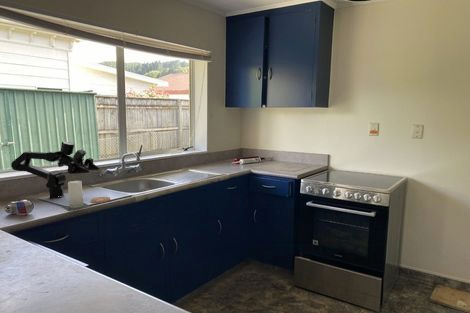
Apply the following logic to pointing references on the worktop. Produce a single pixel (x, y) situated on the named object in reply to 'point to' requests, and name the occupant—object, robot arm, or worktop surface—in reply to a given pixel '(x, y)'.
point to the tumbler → (75, 194)
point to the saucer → (100, 199)
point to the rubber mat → (76, 208)
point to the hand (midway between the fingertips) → (93, 170)
